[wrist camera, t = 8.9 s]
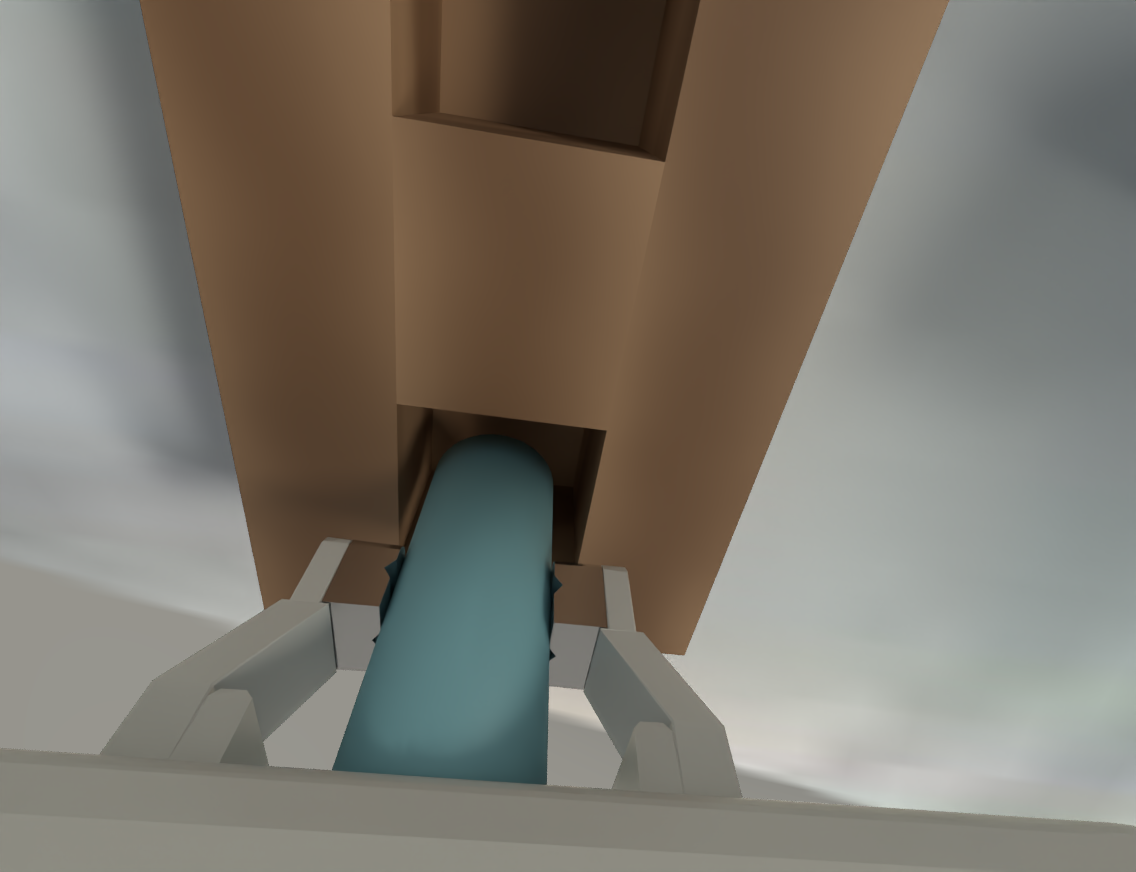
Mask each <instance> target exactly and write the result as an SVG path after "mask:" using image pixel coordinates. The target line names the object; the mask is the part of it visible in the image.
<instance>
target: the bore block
mask: <svg viewBox="0 0 1136 872" xmlns="http://www.w3.org/2000/svg"><path fill="white" fill-rule="evenodd" d="M948 2H949V0H140V5H141V10H142V15H143V19H144V24H145V29H146V34H147V39H148V44H149V49H150V54H151V59H152V63H153V68H154V73H155V78H156V83H157V88H158V93H159V98H160V102H161V107H162V112H163V117H164V122H165V127H166V132H167V137H168V142H169V146H170V151H171V156H172V161H173V166H174V171H175V176H176V181H177V185H178V190H179V195H180V200H181V205H182V210H183V215H184V220H185V224H186V229H187V234H188V239H189V244H190V249H191V254H192V259H193V264H194V268H195V273H196V278H197V283H198V288H199V293H200V298H201V303H202V307H203V312H204V317H205V322H206V327H207V332H208V337H209V342H210V347H211V351H212V356H213V361H214V366H215V371H216V376H217V381H218V386H219V390H220V395H221V400H222V405H223V410H224V415H225V420H226V425H227V429H228V434H229V439H230V444H231V449H232V454H233V459H234V464H235V469H236V473H237V478H238V483H239V488H240V493H241V498H242V503H243V508H244V512H245V517H246V522H247V527H248V532H249V537H250V542H251V547H252V552H253V556H254V561H255V566H256V571H257V576H258V581H259V586H260V591H261V595H262V600H263V605H264V610H265V609H267V608H268V607H270V606H271V605H273V604H275V603H276V602H278V601H279V600H281V599H288V600H290V598H291V596H292V595H293V593H294V591H295V589H296V587H297V586H298V584H299V582H300V580H301V578H302V577H303V575H304V573H305V571H306V569H307V568H308V566H309V564H310V562H311V560H312V558H313V557H314V555H315V553H316V551H317V549H318V548H319V546H320V544H321V542H322V541H324V540H325V539H326V538H327V537H332V538H340V539H347V540H360V541H368V542H376V543H384V544H392V545H399V546H404V548H405V557H406V554H407V551H408V548H409V545H410V542H411V539H412V536H413V534H414V531H415V528H416V525H417V522H418V519H419V516H420V513H421V510H422V507H423V505H424V502H425V499H426V496H427V493H428V490H429V487H430V484H431V481H432V478H433V476H434V473H435V470H436V467H437V464H438V462H439V460H440V459H441V457H442V456H443V454H444V453H445V452H446V451H447V450H448V449H449V448H450V447H452V446H453V445H454V444H456V443H458V442H459V441H462V440H464V439H466V438H469V437H473V436H477V435H486V434H495V435H503V436H508V437H511V438H515V439H517V440H520V441H522V442H524V443H526V444H527V445H529V446H531V447H532V448H533V449H535V450H536V451H537V452H538V453H539V454H540V455H541V456H542V457H543V459H544V460H545V461H546V463H547V465H548V466H549V468H550V471H551V474H552V478H553V521H552V565H553V562H554V561H559V562H570V563H581V564H592V565H600V566H602V565H604V566H615V567H625V568H626V570H627V571H628V578H629V585H630V592H631V599H632V606H633V613H634V620H635V627H636V632H643V633H644V634H645V635H646V636H647V637H648V638H649V640H650V641H651V642H652V643H653V644H654V645H655V647H656V648H657V649H658V650H659V651H660V652H661V653H665V654H675V655H685V652H686V650H687V647H688V645H689V642H690V640H691V637H692V635H693V632H694V630H695V628H696V625H697V623H698V620H699V618H700V615H701V613H702V610H703V608H704V605H705V603H706V600H707V598H708V595H709V593H710V590H711V588H712V585H713V583H714V581H715V578H716V576H717V573H718V571H719V568H720V566H721V563H722V561H723V558H724V556H725V553H726V551H727V548H728V546H729V543H730V541H731V539H732V536H733V534H734V531H735V529H736V526H737V524H738V521H739V519H740V516H741V514H742V511H743V509H744V506H745V504H746V501H747V499H748V496H749V494H750V492H751V489H752V487H753V484H754V482H755V479H756V477H757V474H758V472H759V469H760V467H761V464H762V462H763V459H764V457H765V454H766V452H767V450H768V447H769V445H770V442H771V440H772V437H773V435H774V432H775V430H776V427H777V425H778V422H779V420H780V417H781V415H782V412H783V410H784V407H785V405H786V403H787V400H788V398H789V395H790V393H791V390H792V388H793V385H794V383H795V380H796V378H797V375H798V373H799V370H800V368H801V365H802V363H803V361H804V358H805V356H806V353H807V351H808V348H809V346H810V343H811V341H812V338H813V336H814V333H815V331H816V328H817V326H818V323H819V321H820V318H821V316H822V314H823V311H824V309H825V306H826V304H827V301H828V299H829V296H830V294H831V291H832V289H833V286H834V284H835V281H836V279H837V276H838V274H839V272H840V269H841V267H842V264H843V262H844V259H845V257H846V254H847V252H848V249H849V247H850V244H851V242H852V239H853V237H854V234H855V232H856V229H857V227H858V225H859V222H860V220H861V217H862V215H863V212H864V210H865V207H866V205H867V202H868V200H869V197H870V195H871V192H872V190H873V187H874V185H875V182H876V180H877V178H878V175H879V173H880V170H881V168H882V165H883V163H884V160H885V158H886V155H887V153H888V150H889V148H890V145H891V143H892V140H893V138H894V136H895V133H896V131H897V128H898V126H899V123H900V121H901V118H902V116H903V113H904V111H905V108H906V106H907V103H908V101H909V98H910V96H911V93H912V91H913V89H914V86H915V84H916V81H917V79H918V76H919V74H920V71H921V69H922V66H923V64H924V61H925V59H926V56H927V54H928V51H929V49H930V47H931V44H932V42H933V39H934V37H935V34H936V32H937V29H938V27H939V24H940V22H941V19H942V17H943V14H944V12H945V9H946V7H947V4H948ZM551 570H552V566H551Z"/></svg>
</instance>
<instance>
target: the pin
mask: <svg viewBox="0 0 1136 872" xmlns="http://www.w3.org/2000/svg"><path fill="white" fill-rule="evenodd" d="M552 521H553V478H552V474H551V471H550V468H549V466H548V465H547V463H546V461H545V460H544V459H543V457H542V456H541V455H540V454H539V453H538V452H537V451H536V450H535V449H533V448H532V447H531V446H529V445H527V444H526V443H524V442H522V441H520V440H517V439H515V438H511V437H508V436H503V435H495V434H486V435H477V436H473V437H469V438H466V439H464V440H462V441H459V442H458V443H456V444H454V445H453V446H452V447H450V448H449V449H448V450H447V451H446V452H445V453H444V454H443V456H442V457H441V459H440V460H439V462H438V464H437V467H436V470H435V473H434V476H433V478H432V481H431V484H430V487H429V490H428V493H427V496H426V499H425V502H424V505H423V507H422V510H421V513H420V516H419V519H418V522H417V525H416V528H415V531H414V534H413V536H412V539H411V542H410V545H409V548H408V551H407V554H406V557H405V560H404V563H403V565H402V568H401V571H400V574H399V577H398V580H397V583H396V586H395V589H394V592H393V594H392V597H391V600H390V603H389V606H388V609H387V612H386V615H385V618H384V621H383V623H382V626H381V629H380V632H379V635H378V638H377V641H376V644H375V647H374V650H373V652H372V655H371V658H370V661H369V664H368V667H367V670H366V673H365V676H364V679H363V681H362V684H361V687H360V690H359V693H358V696H357V699H356V702H355V705H354V708H353V710H352V714H351V717H350V719H349V722H348V725H347V728H346V731H345V734H344V737H343V739H342V742H341V745H340V748H339V751H338V754H337V757H336V760H335V763H334V766H333V769H332V770H333V771H348V772H363V773H378V774H393V775H408V776H422V777H437V778H452V779H467V780H482V781H497V782H512V783H527V784H542V785H547V747H548V746H547V745H548V702H549V657H550V647H549V636H550V612H551V598H550V591H551V566H552Z"/></svg>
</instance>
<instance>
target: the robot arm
mask: <svg viewBox="0 0 1136 872" xmlns="http://www.w3.org/2000/svg"><path fill="white" fill-rule="evenodd" d="M404 560H405V548H404V546H399V545H392V544H384V543H376V542H368V541H360V540H347V539H340V538H332V537H327V538H326V539H325V540H324V541H322V542H321V544H320V546H319V548H318V549H317V551H316V553H315V555H314V557H313V558H312V560H311V562H310V564H309V566H308V568H307V569H306V571H305V573H304V575H303V577H302V578H301V580H300V582H299V584H298V586H297V587H296V589H295V591H294V593H293V595H292V596H291V598H290V600H288V599H281V600H279V601H278V602H276V603H275V604H273V605H271V606H270V607H268V608H267V609H265V610H263V611H262V612H260V613H259V614H257V615H256V616H254V617H252V618H251V619H249V620H248V621H246V622H244V623H243V624H241V625H240V626H238V627H236V628H235V629H233V630H232V631H230V632H229V633H227V634H225V635H224V636H222V637H221V638H219V639H217V640H216V641H214V642H213V643H211V644H209V645H208V646H206V647H205V648H203V649H202V650H200V651H198V652H197V653H195V654H194V655H192V656H190V657H189V658H187V659H186V660H184V661H183V662H181V663H179V664H178V665H176V666H175V667H173V668H171V669H170V670H168V671H167V672H165V673H163V674H162V675H160V676H159V677H157V678H156V679H154V680H152V682H151V683H150V685H149V686H148V687H147V689H146V690H145V691H144V693H143V694H142V696H141V697H140V698H139V700H138V701H137V703H136V704H135V705H134V707H133V708H132V710H131V711H130V713H129V714H128V715H127V717H126V718H125V719H124V721H123V722H122V724H121V725H120V726H119V728H118V729H117V731H116V732H115V733H114V735H113V736H112V738H111V739H110V740H109V742H108V743H107V745H106V746H105V747H104V749H103V750H102V751H101V753H100V754H99V755H96V754H82V753H81V754H80V753H67V752H52V751H36V750H23V749H22V750H21V749H7V748H0V872H1136V827H1135V826H1132V825H1126V824H1118V823H1108V822H1093V821H1078V820H1063V819H1048V818H1033V817H1018V816H1003V815H988V814H973V813H958V812H943V811H928V810H913V809H899V808H884V807H869V806H854V805H838V804H825V803H824V804H823V803H810V802H795V801H779V800H765V799H750V798H742V793H741V790H740V786H739V782H738V778H737V774H736V770H735V766H734V763H733V759H732V755H731V751H730V747H729V743H728V739H727V736H726V732H725V728H724V726H723V724H722V723H721V722H720V721H719V720H718V719H717V717H716V716H715V715H714V714H713V713H712V712H711V710H710V709H709V708H708V707H707V706H706V705H705V703H704V702H703V701H702V700H701V699H700V698H699V697H698V695H697V694H696V693H695V692H694V691H693V690H692V688H691V687H690V686H689V685H688V684H687V683H686V681H685V680H684V679H683V678H682V677H681V676H680V674H679V673H678V672H677V671H676V670H675V669H674V667H673V666H672V665H671V664H670V663H669V662H668V660H667V659H666V658H665V657H664V656H663V655H662V654H661V652H660V651H659V650H658V649H657V648H656V647H655V645H654V644H653V643H652V642H651V641H650V640H649V638H648V637H647V636H646V635H645V634H644V633H643V632H636V627H635V620H634V613H633V606H632V599H631V592H630V585H629V578H628V571H627V570H626V568H625V567H615V566H604V565H602V566H600V565H592V564H581V563H570V562H559V561H554V562H553V565H552V570H551V591H550V598H551V612H550V636H549V647H550V657H549V686H554V687H563V688H572V689H581V690H584V693H585V695H586V697H587V699H588V700H589V702H590V704H591V706H592V707H593V709H594V711H595V713H596V714H597V716H598V718H599V720H600V721H601V723H602V725H603V726H604V728H605V730H606V732H607V733H608V735H609V737H610V738H611V740H612V742H613V744H614V745H615V747H616V749H617V751H618V752H619V754H620V756H621V758H622V762H621V765H620V768H619V771H618V773H617V776H616V779H615V781H614V784H613V787H612V789H602V788H586V787H572V786H571V787H570V786H557V785H542V784H527V783H512V782H497V781H482V780H467V779H452V778H437V777H422V776H408V775H393V774H378V773H363V772H348V771H333V770H317V769H304V768H289V767H274V766H269V764H268V760H267V756H266V752H265V748H264V744H263V741H264V740H265V739H267V738H268V737H269V736H270V735H271V734H272V733H273V732H274V731H275V730H276V729H277V728H278V727H279V726H280V725H281V724H282V723H283V722H284V721H285V720H287V719H288V718H289V717H290V716H291V715H292V714H293V713H294V712H295V711H296V710H297V709H298V708H299V707H300V706H301V705H302V704H303V703H304V702H306V700H307V699H309V698H310V697H311V696H312V695H313V694H314V693H315V692H316V691H317V690H318V689H319V688H320V687H321V686H322V685H323V684H324V683H326V682H327V681H328V679H330V678H331V677H332V676H333V675H334V674H335V673H336V669H339V670H357V671H366V670H367V667H368V664H369V661H370V658H371V655H372V652H373V650H374V647H375V644H376V641H377V638H378V635H379V632H380V629H381V626H382V623H383V621H384V618H385V615H386V612H387V609H388V606H389V603H390V600H391V597H392V594H393V592H394V589H395V586H396V583H397V580H398V577H399V574H400V571H401V568H402V565H403V563H404Z"/></svg>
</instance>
